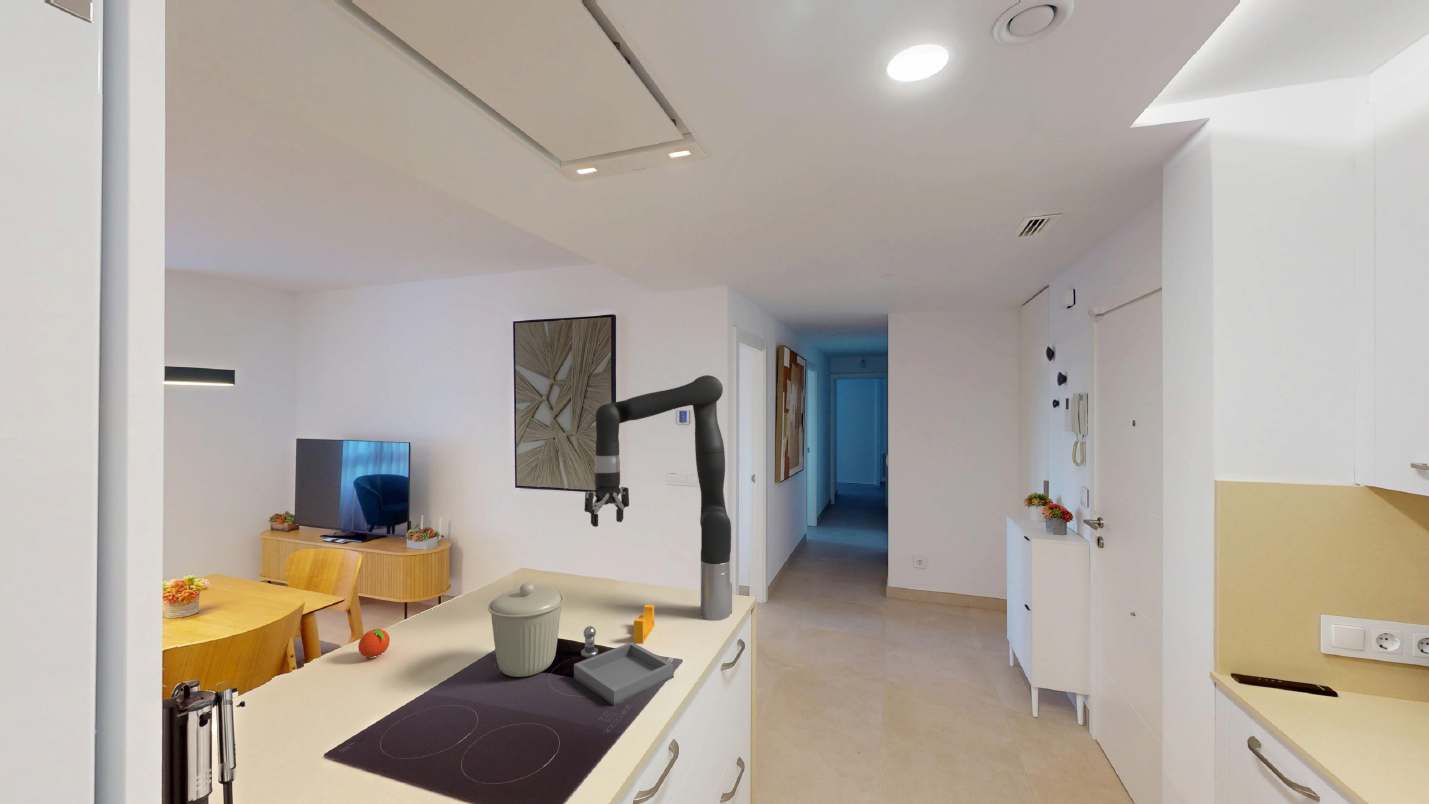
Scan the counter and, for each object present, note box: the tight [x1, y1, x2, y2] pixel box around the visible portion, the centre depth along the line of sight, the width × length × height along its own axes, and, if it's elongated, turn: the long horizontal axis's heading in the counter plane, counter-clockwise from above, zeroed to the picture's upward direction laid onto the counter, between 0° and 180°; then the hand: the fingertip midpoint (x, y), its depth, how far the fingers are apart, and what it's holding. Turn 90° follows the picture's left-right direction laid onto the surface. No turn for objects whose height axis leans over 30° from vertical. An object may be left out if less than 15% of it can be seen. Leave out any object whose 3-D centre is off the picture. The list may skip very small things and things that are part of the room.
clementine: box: [358, 628, 391, 658], centre depth 139 cm, size 8×7×7 cm
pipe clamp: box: [633, 604, 655, 645], centre depth 152 cm, size 12×4×6 cm, turn 172°
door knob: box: [580, 625, 599, 659], centre depth 140 cm, size 4×4×7 cm
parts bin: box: [573, 641, 675, 706], centre depth 128 cm, size 17×17×4 cm
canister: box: [487, 582, 565, 678], centre depth 133 cm, size 18×18×21 cm
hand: (607, 523), depth 160 cm, fingers open, 8 cm apart
